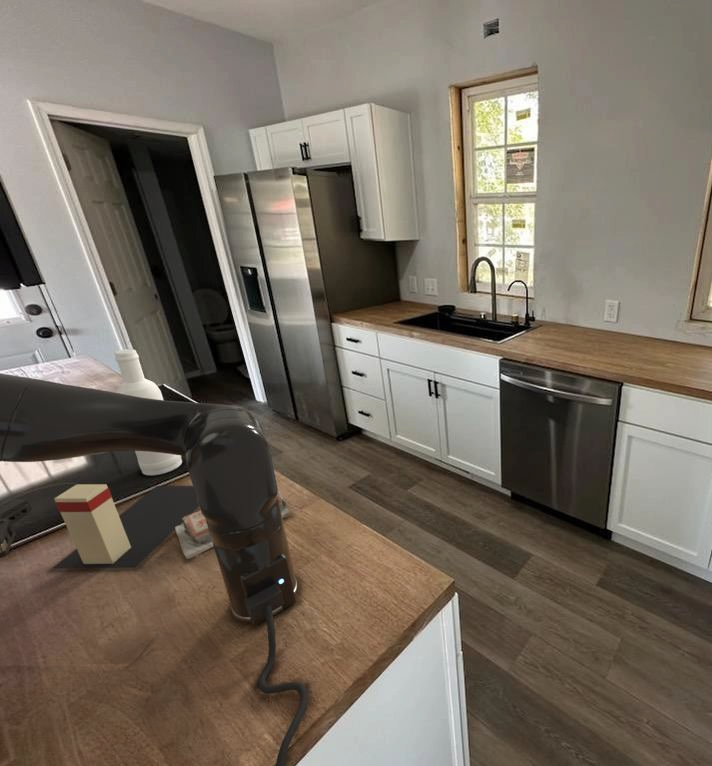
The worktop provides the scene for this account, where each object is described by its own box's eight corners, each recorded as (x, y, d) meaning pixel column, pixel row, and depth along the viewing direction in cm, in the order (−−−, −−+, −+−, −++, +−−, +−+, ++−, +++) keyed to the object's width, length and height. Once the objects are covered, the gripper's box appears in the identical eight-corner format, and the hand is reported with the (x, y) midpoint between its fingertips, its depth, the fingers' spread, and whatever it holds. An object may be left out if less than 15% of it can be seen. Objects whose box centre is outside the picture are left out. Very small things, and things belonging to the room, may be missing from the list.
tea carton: (113, 564, 73) (85, 498, 68) (82, 564, 72) (53, 498, 67) (132, 547, 77) (107, 484, 71) (103, 547, 76) (76, 484, 71)
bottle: (188, 456, 106) (155, 345, 95) (174, 473, 99) (136, 355, 88) (151, 460, 104) (113, 347, 93) (134, 478, 97) (91, 357, 86)
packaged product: (271, 477, 91) (288, 497, 84) (275, 495, 93) (291, 516, 86) (169, 513, 79) (179, 540, 72) (176, 533, 81) (186, 561, 74)
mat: (136, 568, 72) (135, 567, 72) (52, 569, 72) (52, 568, 72) (220, 487, 95) (220, 486, 95) (157, 487, 94) (157, 486, 94)
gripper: (-97, 579, 44) (62, 484, 60) (-232, 580, 43) (-34, 483, 59) (-64, 629, 47) (79, 525, 63) (-191, 631, 46) (-13, 525, 62)
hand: (24, 505), depth 61 cm, fingers closed
